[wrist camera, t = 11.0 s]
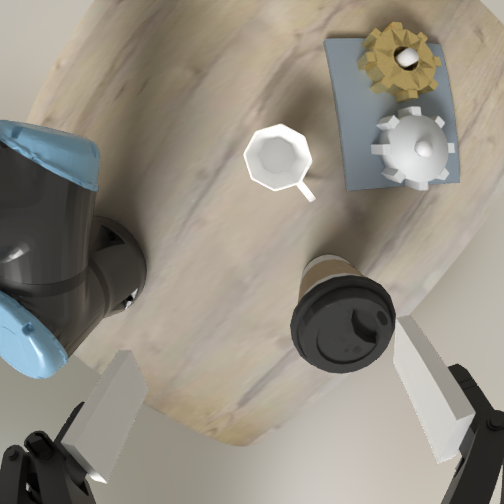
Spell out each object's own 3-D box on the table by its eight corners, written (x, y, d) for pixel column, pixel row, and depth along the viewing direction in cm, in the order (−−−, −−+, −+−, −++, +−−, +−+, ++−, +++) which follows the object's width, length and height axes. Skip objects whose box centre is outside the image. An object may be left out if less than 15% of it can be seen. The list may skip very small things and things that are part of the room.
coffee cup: (378, 286, 43) (417, 344, 29) (313, 326, 46) (326, 396, 31) (340, 222, 40) (373, 262, 26) (270, 268, 43) (267, 327, 29)
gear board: (345, 189, 39) (361, 198, 32) (323, 42, 33) (333, 21, 26) (454, 181, 37) (483, 189, 30) (435, 47, 31) (461, 33, 24)
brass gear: (364, 102, 34) (375, 97, 29) (350, 32, 31) (358, 19, 26) (431, 103, 33) (447, 99, 28) (417, 36, 29) (431, 26, 25)
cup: (280, 117, 37) (282, 109, 29) (330, 178, 39) (344, 185, 31) (237, 152, 38) (228, 153, 31) (288, 211, 40) (291, 227, 33)
